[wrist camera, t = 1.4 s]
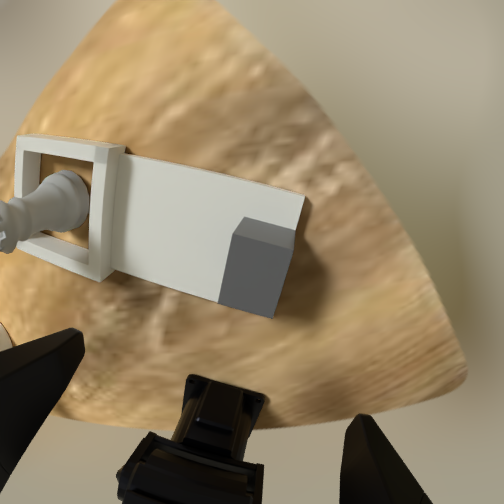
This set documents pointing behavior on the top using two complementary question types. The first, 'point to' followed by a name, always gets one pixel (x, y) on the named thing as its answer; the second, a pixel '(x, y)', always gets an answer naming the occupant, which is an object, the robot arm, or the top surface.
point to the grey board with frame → (171, 224)
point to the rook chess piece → (44, 209)
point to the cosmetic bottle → (4, 339)
